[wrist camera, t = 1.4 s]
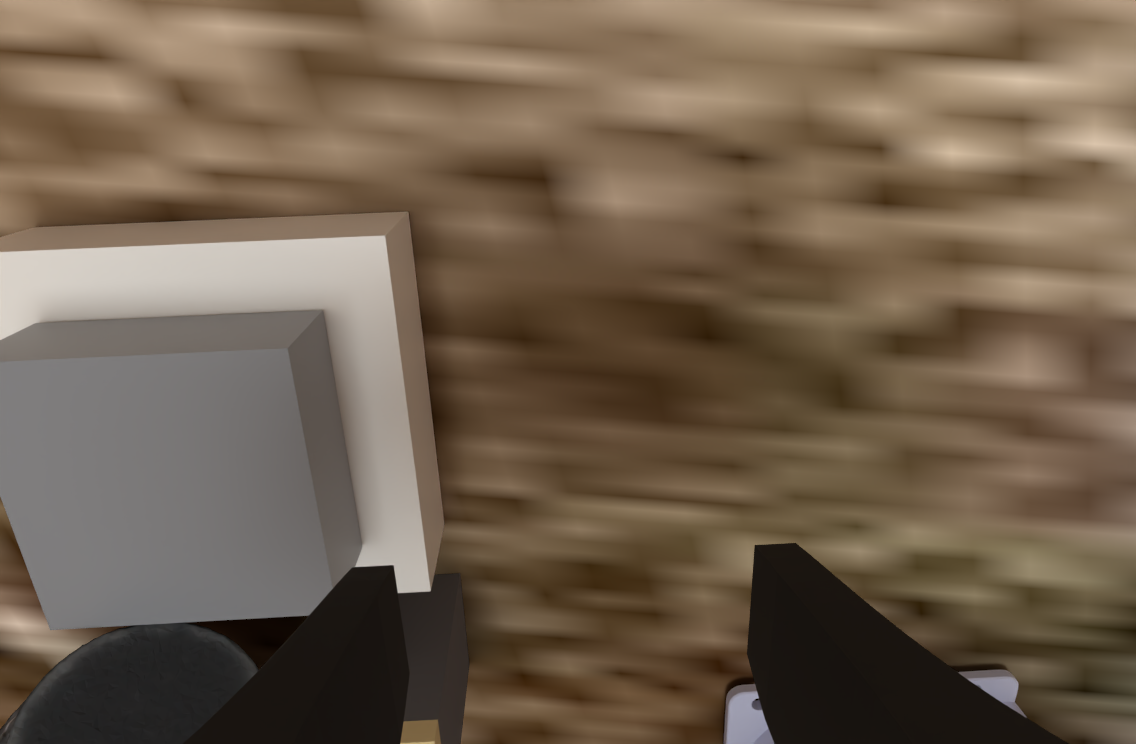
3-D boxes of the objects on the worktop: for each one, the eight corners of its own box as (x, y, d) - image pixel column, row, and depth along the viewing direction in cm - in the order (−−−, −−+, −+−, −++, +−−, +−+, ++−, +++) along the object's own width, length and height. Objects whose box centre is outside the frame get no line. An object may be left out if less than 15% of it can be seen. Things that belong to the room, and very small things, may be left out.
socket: (408, 211, 18) (385, 235, 15) (444, 524, 21) (430, 591, 18) (34, 227, 18) (-60, 254, 15) (130, 541, 21) (67, 611, 18)
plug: (460, 573, 22) (434, 741, 16) (469, 664, 23) (448, 848, 18) (342, 579, 22) (276, 750, 16) (358, 670, 23) (302, 856, 18)
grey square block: (323, 309, 16) (287, 348, 13) (362, 547, 18) (337, 614, 16) (35, 322, 15) (-49, 363, 13) (111, 560, 18) (50, 629, 15)
